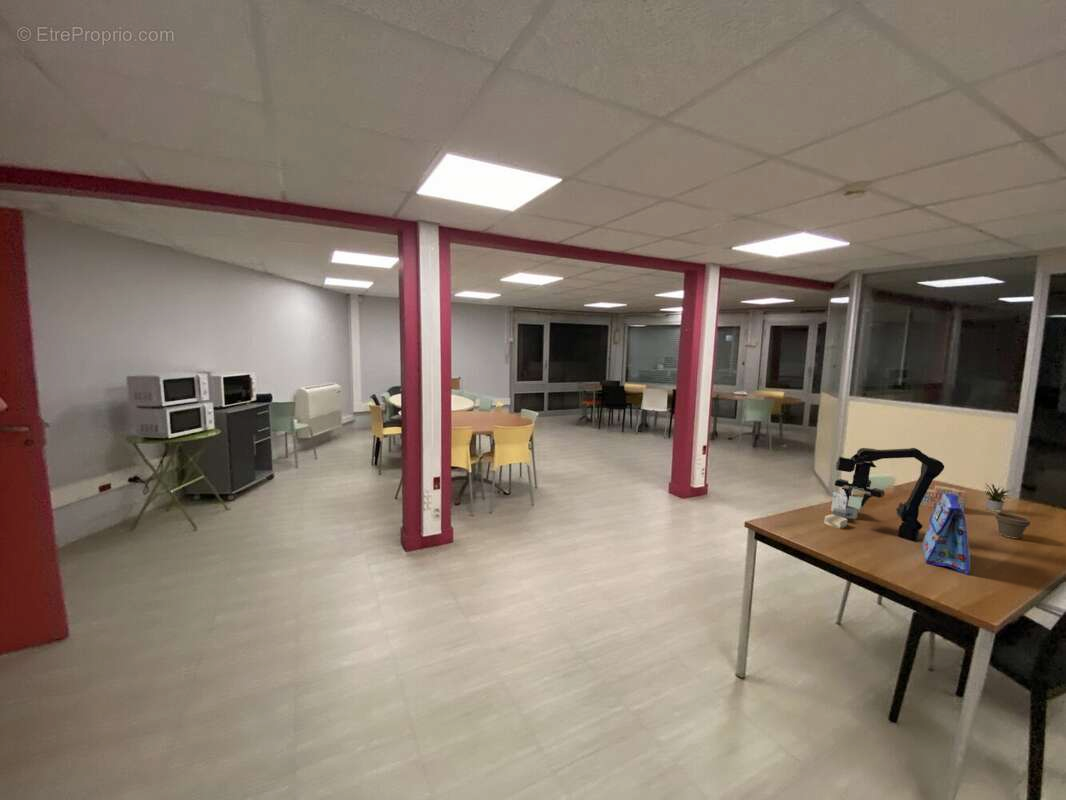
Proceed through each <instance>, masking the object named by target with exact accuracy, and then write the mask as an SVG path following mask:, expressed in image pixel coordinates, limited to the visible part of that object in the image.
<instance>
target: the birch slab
mask: <svg viewBox="0 0 1066 800" xmlns="http://www.w3.org/2000/svg"><path fill="white" fill-rule="evenodd" d="M848 519H849V518H843V517H840V516H837V515H834V514H833V513H831V514H828V515H825V516H824V520H823V524H824V523H825V525H828V526H830V527H833V528H836V529H839V530H841V529H843V528H847V527H848V525H847V524H848Z"/></svg>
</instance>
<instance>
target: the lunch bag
mask: <svg viewBox="0 0 1066 800" xmlns="http://www.w3.org/2000/svg"><path fill="white" fill-rule="evenodd" d="M958 496H959V495H956V494H952V493H950V494H946V493H943V494H942V497H941V499H940V501H939V503H938V505H937V507H936V508H934V510H933V512H932V513H931V515H930V517H929V526H928V529H927V531H926V533H925V535H924V538H923V541H922V543H921V546H922V550H923V554H924V558H925V559H924V560H925V563H926V564H928V565H930V566H931V565H932V566H933V565H936V566H942V567H946V566H947V567H949V568H951V569H953V570H955V571H958V572H959V573H962V574H964V573H965V574H964V575H969V574H970V569H971V554H970V544H969V543H970V542H969V536H968V529H967V522H966V515H965V512H964V511H963V510H962V508H961V507H960V506H959V504H958V502H957V501H958Z"/></svg>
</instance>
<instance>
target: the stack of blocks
mask: <svg viewBox="0 0 1066 800" xmlns="http://www.w3.org/2000/svg"><path fill="white" fill-rule="evenodd" d="M943 493H946V494H950V493H952V494H956V495H959V496H958V501H957V502H958V504H959V506H960V507H961V508H962V510H963V512H964V510H965V506H966V503H967V502H966V501H967V496H968V492H966V491H965V490H964V489H958V488H953V487H947V486H942V485H937V484H936V485H934V489H929V488H928V490H927V492H926V494H925V496H924V498H923V500H922V502H921V503H920V505H923V506H922V507H925V506H929V507H928V508H930V507H934V508H933V509H936V507H937V505H938V503H939V501H940V499H941V497H942V494H943ZM920 505H919V506H920Z"/></svg>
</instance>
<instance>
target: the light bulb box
mask: <svg viewBox="0 0 1066 800" xmlns="http://www.w3.org/2000/svg"><path fill="white" fill-rule="evenodd" d="M832 495H833V496H832V501H831V507H830V511H831V512H833V510H834V508H838V509H842V510H846V513H845V518H846V519H851V520H857V518H858V512H859V511H858V510H859V509H857V508H853V507H850V506H848V499H847V496H846V493H845V492H839V491H838V492H837V491H834V492H833V494H832Z"/></svg>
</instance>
